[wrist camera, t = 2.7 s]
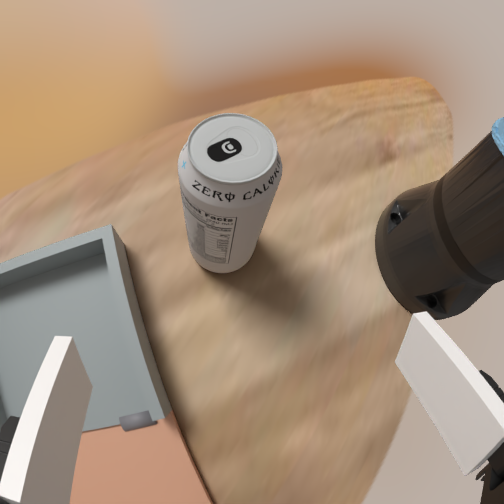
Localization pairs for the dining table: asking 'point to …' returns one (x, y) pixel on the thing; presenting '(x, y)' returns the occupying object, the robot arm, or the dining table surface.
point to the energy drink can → (227, 188)
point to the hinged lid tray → (96, 369)
